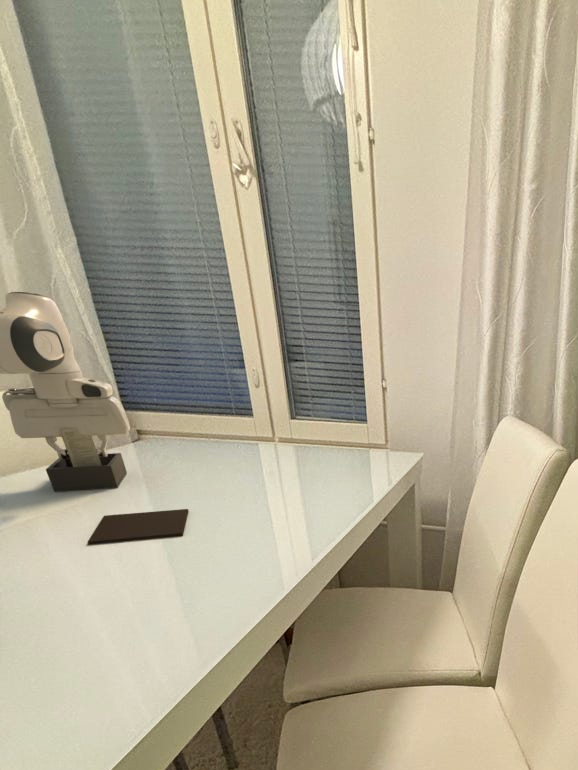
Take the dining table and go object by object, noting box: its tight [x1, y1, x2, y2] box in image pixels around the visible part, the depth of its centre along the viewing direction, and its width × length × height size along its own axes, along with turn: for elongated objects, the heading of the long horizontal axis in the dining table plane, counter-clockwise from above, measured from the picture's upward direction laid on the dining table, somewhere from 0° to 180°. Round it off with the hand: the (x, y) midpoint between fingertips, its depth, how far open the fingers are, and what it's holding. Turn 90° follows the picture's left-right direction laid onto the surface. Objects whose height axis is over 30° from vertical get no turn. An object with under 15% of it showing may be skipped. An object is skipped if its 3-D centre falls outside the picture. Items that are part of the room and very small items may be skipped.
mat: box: [87, 508, 190, 546], centre depth 97 cm, size 14×14×1 cm
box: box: [60, 428, 102, 467], centre depth 117 cm, size 5×4×11 cm
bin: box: [45, 452, 128, 493], centre depth 119 cm, size 12×13×5 cm
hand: (84, 457), depth 118 cm, fingers closed on box, 6 cm apart
